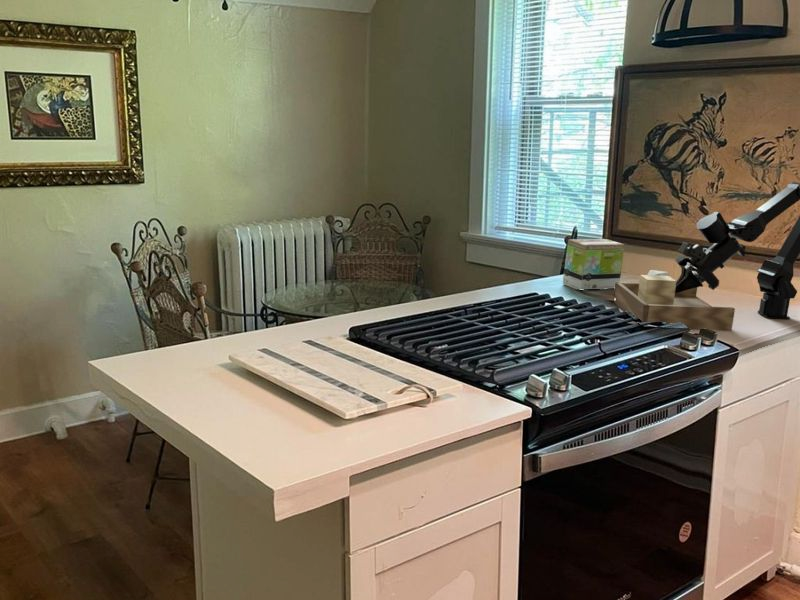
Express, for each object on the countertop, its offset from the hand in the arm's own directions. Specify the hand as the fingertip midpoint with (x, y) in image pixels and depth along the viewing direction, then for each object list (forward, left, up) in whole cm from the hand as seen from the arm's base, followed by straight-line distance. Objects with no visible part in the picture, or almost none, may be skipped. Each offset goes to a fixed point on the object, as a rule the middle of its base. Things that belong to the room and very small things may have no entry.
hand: (672, 292), depth 215 cm
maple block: (+4, 0, -4) cm, 6 cm away
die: (-3, -21, -7) cm, 22 cm away
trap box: (+1, 0, -7) cm, 7 cm away
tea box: (+14, -32, -7) cm, 36 cm away
